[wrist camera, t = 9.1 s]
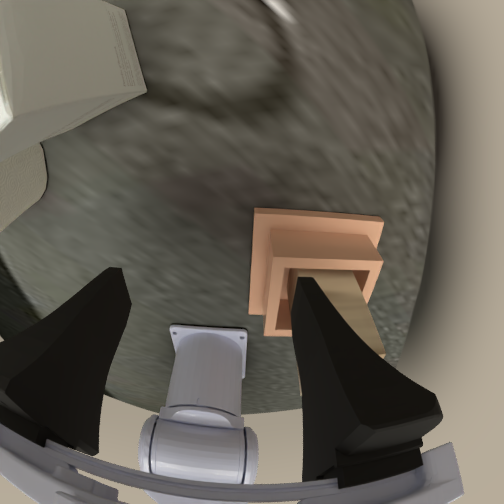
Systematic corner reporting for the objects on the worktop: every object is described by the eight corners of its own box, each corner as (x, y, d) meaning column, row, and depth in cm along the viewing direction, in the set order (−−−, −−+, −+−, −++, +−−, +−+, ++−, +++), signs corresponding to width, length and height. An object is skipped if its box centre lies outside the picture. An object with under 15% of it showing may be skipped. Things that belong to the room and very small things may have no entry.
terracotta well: (350, 307, 26) (361, 342, 22) (248, 306, 26) (248, 344, 22) (379, 216, 21) (403, 246, 17) (254, 207, 20) (254, 239, 17)
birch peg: (331, 288, 23) (361, 390, 15) (286, 288, 23) (300, 395, 15) (342, 250, 21) (386, 353, 13) (292, 247, 21) (315, 359, 13)
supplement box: (127, 7, 11) (-3, -35, 1) (150, 93, 15) (12, 126, 5) (49, 54, 12) (-81, 77, 2) (69, 131, 16) (-57, 202, 6)
